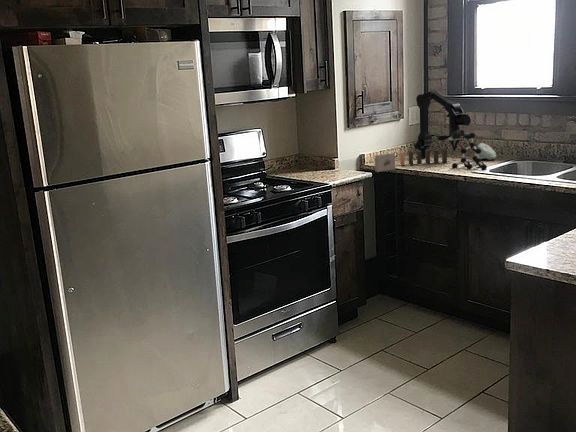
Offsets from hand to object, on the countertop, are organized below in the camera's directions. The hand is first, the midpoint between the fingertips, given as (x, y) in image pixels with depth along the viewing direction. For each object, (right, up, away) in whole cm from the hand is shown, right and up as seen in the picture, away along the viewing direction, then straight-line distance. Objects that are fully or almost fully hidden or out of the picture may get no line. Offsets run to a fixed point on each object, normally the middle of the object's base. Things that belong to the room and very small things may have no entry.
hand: (453, 151), depth 374 cm
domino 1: (-30, -8, +3) cm, 31 cm away
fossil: (-43, -12, -10) cm, 46 cm away
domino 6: (-5, -7, +2) cm, 9 cm away
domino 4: (-15, -7, +2) cm, 17 cm away
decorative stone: (+20, -5, +3) cm, 21 cm away
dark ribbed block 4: (-20, -8, +2) cm, 22 cm away
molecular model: (+7, -11, -17) cm, 22 cm away
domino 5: (-10, -7, +2) cm, 12 cm away
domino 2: (-25, -8, +2) cm, 27 cm away
